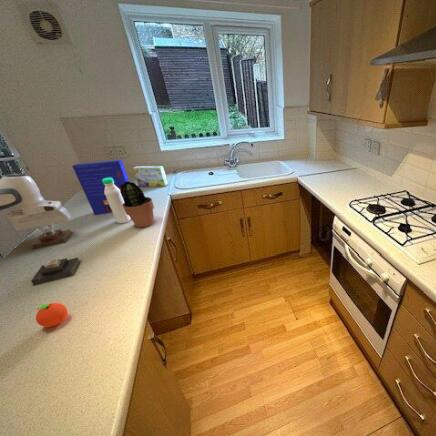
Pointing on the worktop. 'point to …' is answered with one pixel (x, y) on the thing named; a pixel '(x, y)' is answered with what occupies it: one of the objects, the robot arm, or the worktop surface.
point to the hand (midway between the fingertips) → (50, 233)
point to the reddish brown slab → (52, 239)
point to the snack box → (150, 175)
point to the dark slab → (56, 271)
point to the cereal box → (99, 181)
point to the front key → (53, 263)
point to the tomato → (51, 314)
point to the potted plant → (137, 205)
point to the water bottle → (115, 200)
